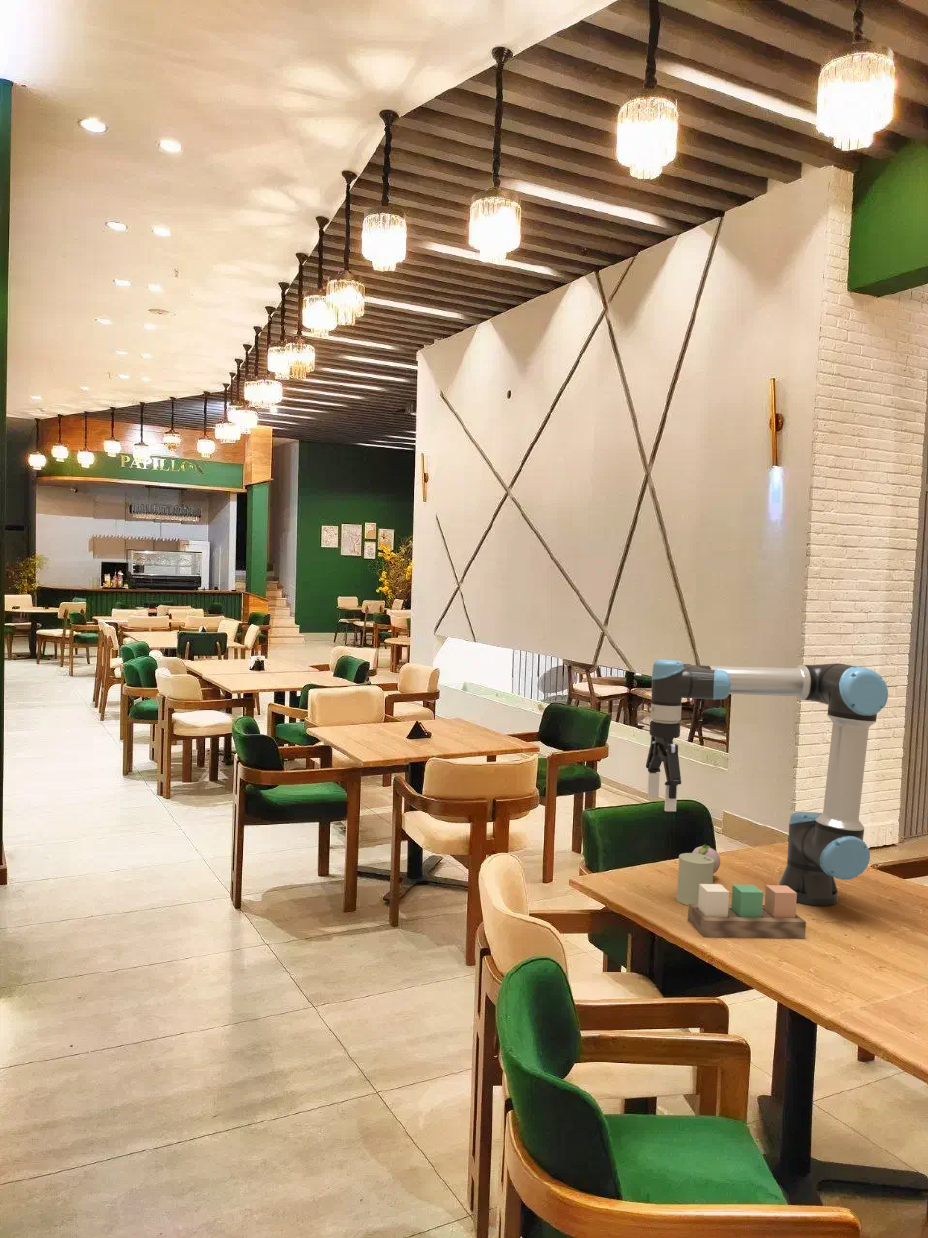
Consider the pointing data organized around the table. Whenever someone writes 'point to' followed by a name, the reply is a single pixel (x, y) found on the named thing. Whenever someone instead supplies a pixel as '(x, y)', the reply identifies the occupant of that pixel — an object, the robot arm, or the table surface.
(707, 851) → the decorative fruit
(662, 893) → the table surface
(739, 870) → the table surface
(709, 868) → the can
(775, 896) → the terracotta block
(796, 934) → the walnut board
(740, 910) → the green block
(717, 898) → the cream block
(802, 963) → the table surface
